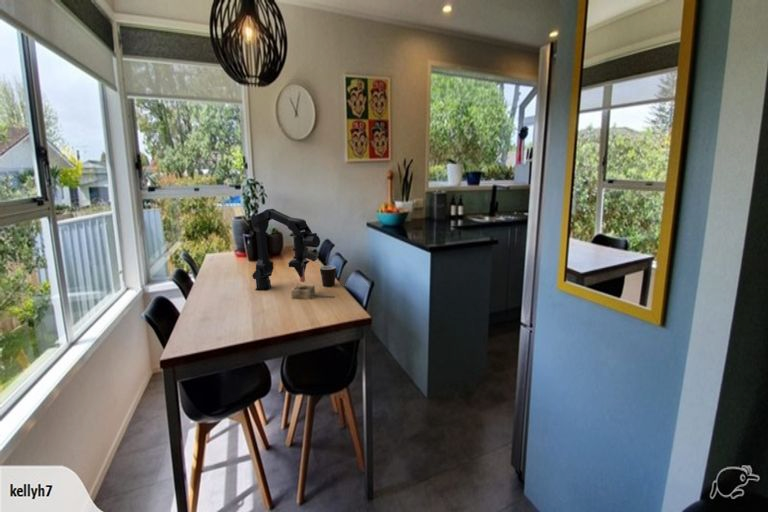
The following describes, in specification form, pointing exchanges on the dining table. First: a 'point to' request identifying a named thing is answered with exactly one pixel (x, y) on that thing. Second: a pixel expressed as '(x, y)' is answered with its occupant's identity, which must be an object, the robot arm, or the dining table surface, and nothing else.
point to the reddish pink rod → (302, 276)
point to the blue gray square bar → (324, 296)
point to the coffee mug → (328, 275)
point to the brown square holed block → (303, 292)
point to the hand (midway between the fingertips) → (302, 276)
